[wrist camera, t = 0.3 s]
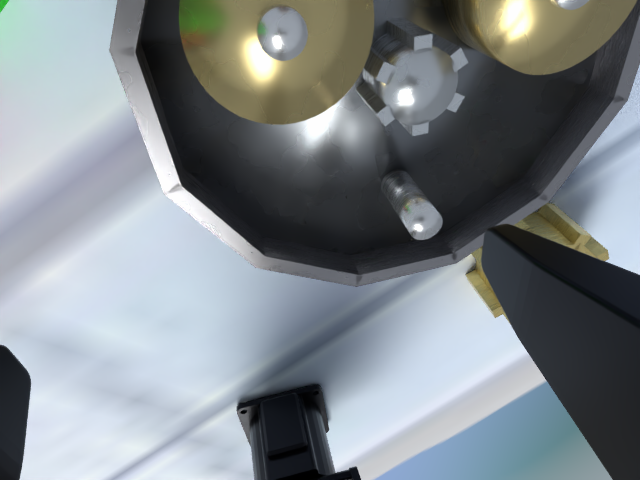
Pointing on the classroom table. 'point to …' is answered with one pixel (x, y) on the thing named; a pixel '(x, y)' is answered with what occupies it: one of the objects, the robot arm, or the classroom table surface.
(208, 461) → the classroom table surface
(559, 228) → the planet gear
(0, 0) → the puzzle toy
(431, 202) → the tray
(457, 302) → the classroom table surface
